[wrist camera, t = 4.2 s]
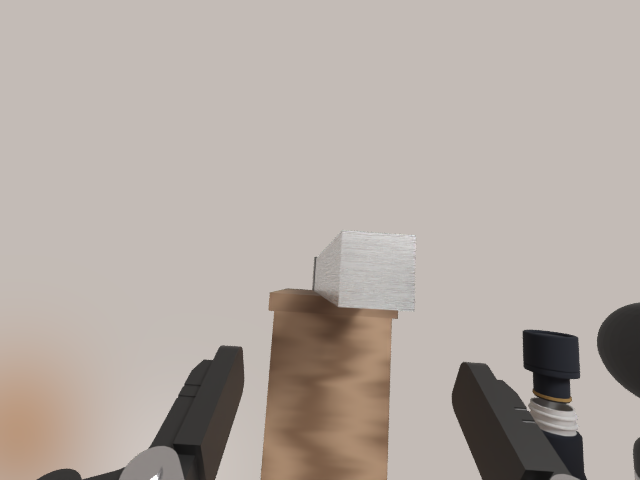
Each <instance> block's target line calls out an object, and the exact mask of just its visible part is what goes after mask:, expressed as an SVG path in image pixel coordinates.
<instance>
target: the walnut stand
mask: <svg viewBox="0 0 640 480" xmlns="http://www.w3.org/2000/svg"><path fill="white" fill-rule="evenodd" d="M269 310H270V311H274V322H273V334H272V346H271V359H270V370H269V383H268V396H267V407H266V408H267V409H266V420H265V433H264V444H263V457H262V469H261V480H387V461H388V428H389V395H390V360H391V328H392V325H391V324H392V318H395V319H398V310H382V309H365V308H347V307H338V306H336V305H335V304H333V303H331V302H330V301H328V300H327V299H325V298H324V297H322V296H321V295H319V294H318V293H316V292H315V291H313V290H303V289H284V290H279V291H275V292H271V293H270V298H269Z"/></svg>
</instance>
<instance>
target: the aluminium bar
mask: <svg viewBox="0 0 640 480" xmlns="http://www.w3.org/2000/svg"><path fill="white" fill-rule="evenodd" d="M415 252H416V236H414V235H400V234H387V233H374V232H361V231H347V230H342V231H341V232H340V233H339V234H338V235H337V237H335V239H334V240H333V241H332V242H331V243H330V244H329V245H328V246H327V247H326V248H325V249H324V250H323V251H322V253H321V254H320V255H319V256H318V257H315V258H314V271H313V286H312V290H313V291H315V292H316V293H318V294H319V295H321V296H322V297H324V298H325V299H327V300H328V301H330V302H331V303H333V304H335V305H336V306H338V307H347V308H365V309H382V310H400V311H414V301H415Z"/></svg>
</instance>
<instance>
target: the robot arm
mask: <svg viewBox="0 0 640 480" xmlns="http://www.w3.org/2000/svg"><path fill="white" fill-rule="evenodd" d="M597 347H598V351H599V355H600V357H601V359H602V361H603V363H604V365H605V367H606V368H607V370H608V371H609V372H610V374H611V375H612V376H613V377H614V378H615V379H616V380H617V381H618V382H619V383H620V384H621V385H622V386H623V387H624V388H626V389H627V390H629V391H630V392H631V393H633V394H635V395H636V396H637V397H639V398H640V303H634V304H630V305H627V306H624V307H622V308H619V309H618V310H616V311H614V312H613V313H612V314H610V315H609V316H608V317H607V318H606V320H605V321H604V322H603V323H602V325H601V327H600V329H599V332H598V337H597ZM243 387H244V364H243V350H242V347H237V346H220V347H219V349H218V351H217V353H216V355H215V358H214V359H213V360H203V361H202V362H201V363H200V364H198V365H197V366H196V367H195V368H194V369H193V370H192V371H191V373H190V375H189V377H188V379H187V380H186V382H185V385H184V387H183V388H182V390H181V391H180V393H179V395H178V398H177V399H176V400H175V402H174V404H173V406H172V408H171V410H170V411H169V413H168V415H167V417H166V419H165V421H164V423H163V424H162V426H161V428H160V430H159V432H158V434H157V435H156V437H155V439H154V441H153V442H152V444H151V446H150V447H149V448H148V449H147V450H145V451H143V452H142V453H140V454H139V455H137V456H136V457H135V458H134V459H133V460H131V461H130V463H129V464H128V465H127V466H126V467H124V468H122V469H119V470H116V471H113V472H109V473H106V474H102V475H98V476H94V477H90V478H87V479H83V480H215V478H216V475H217V471H218V468H219V465H220V462H221V459H222V455H223V453H224V450H225V446H226V443H227V440H228V437H229V434H230V431H231V427H232V424H233V421H234V418H235V415H236V412H237V409H238V406H239V402H240V399H241V396H242V392H243ZM452 405H453V409H454V412H455V414H456V417H457V419H458V422H459V424H460V426H461V429H462V431H463V434H464V436H465V439H466V441H467V443H468V446H469V448H470V451H471V453H472V455H473V458H474V460H475V463H476V465H477V467H478V470H479V472H480V475H481V477H482V480H580V479H578V478H576V477H573V476H572V475H571V474H570V472H569V471H568V469H567V468H566V466H565V465H564V463H563V462H562V460H561V459H560V457H559V456H558V454H557V453H556V451H555V450H554V448H553V447H552V445H551V444H550V442H549V441H548V439H547V438H546V436H545V435H544V433H543V432H542V430H541V429H540V427H539V426H538V424H536V423H535V420H534V418H533V417H532V415H531V414H530V412H529V411H527V409H526V406H525V405H524V403H523V402H522V400H521V399H520V397H519V396H518V394H517V393H516V392H515V391H514V390H513V389H512V388H511V387H509V386H508V385H507V384H506V383H505V382H504V381H503V380H497V379H496V378H495V376H494V374H493V373H492V372H491V370H490V368H489V367H488V366H487V365H486V364H483V363H469V362H463V363H462V364H461V365H460V368H459V372H458V375H457V378H456V382H455V385H454V388H453V392H452ZM633 458H634V469H635V480H640V438H638V439H637V440H636V441H635V443H634V449H633ZM37 480H82V479H81V476H80V474H79V473H78V472H77V471H75V470H72V469H60V470H56V471H53V472H50V473H48V474H46V475H44V476H42V477H40V478H39V479H37Z"/></svg>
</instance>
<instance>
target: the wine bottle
mask: <svg viewBox="0 0 640 480" xmlns="http://www.w3.org/2000/svg"><path fill="white" fill-rule="evenodd" d="M578 345H579V344H578V337H576V336H573V335H569V334H564V333H558V332H550V331H541V330H524V331H523V361H524V368H525V369H527V370H529V371H532V372H533V385H534V388H533V393H534V394H535V395H536V396H537V397H539V398H531V400H530V404H529V405H528V406H529V408H530V409H531V411H530V414H531V415H532V417H533V418H534V420H535V423H536V424H538V426H539V427H540V429H541V430H542V432H543V433H544V435H545V436H546V438H547V439H548V441H549V442H550V444H551V445H552V447H553V448H554V450H555V451H556V453H557V454H558V456H559V457H560V459H561V460H562V462H563V463H564V465H565V466H566V468H567V469H568V471H569V472H570V474H571V475H572V476H573V477H576V478H578V479H580V480H587V479H586V476H585V473H584V462H583V441H582V436H581V435H580V434H579V432H577V431H576V430H577V429H578V425H577V424H576V420H578V416H577V415H576V414H575V409H574V408H573V407H571V406H569V405H567V403H570V402H571V401H572V397H571V396H570V379H578V378H580V364H579V346H578Z"/></svg>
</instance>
